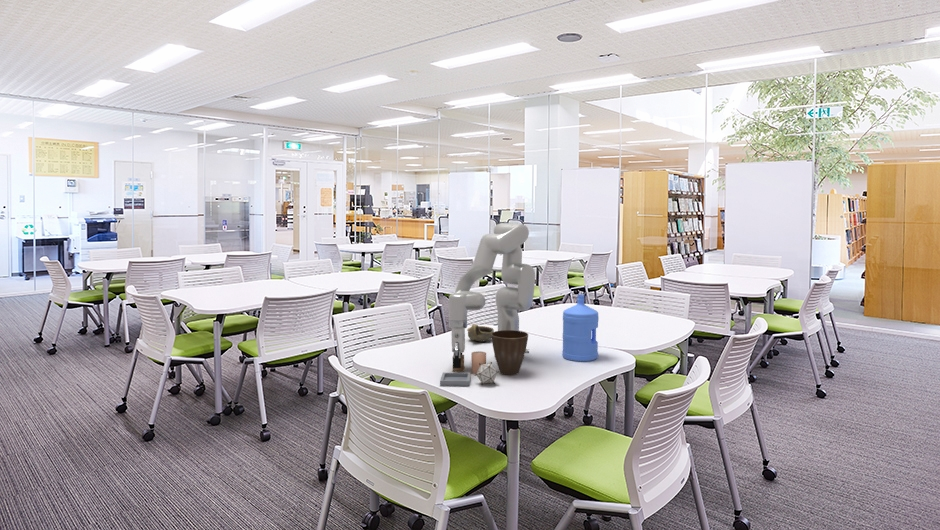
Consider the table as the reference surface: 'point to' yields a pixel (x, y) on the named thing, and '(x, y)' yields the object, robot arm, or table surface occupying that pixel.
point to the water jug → (580, 332)
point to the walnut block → (461, 365)
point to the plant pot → (509, 350)
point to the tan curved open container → (480, 333)
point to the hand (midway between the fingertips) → (457, 364)
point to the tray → (455, 379)
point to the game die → (486, 373)
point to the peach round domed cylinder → (477, 360)
